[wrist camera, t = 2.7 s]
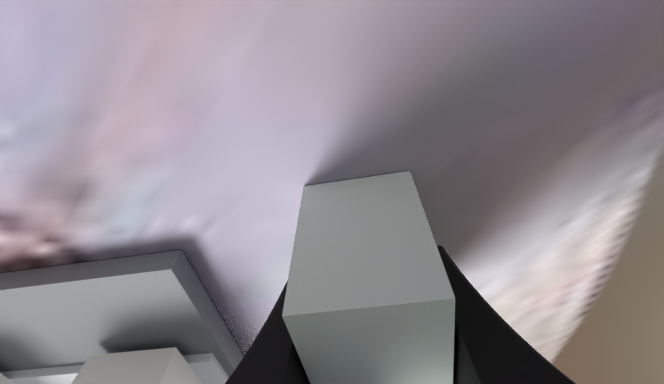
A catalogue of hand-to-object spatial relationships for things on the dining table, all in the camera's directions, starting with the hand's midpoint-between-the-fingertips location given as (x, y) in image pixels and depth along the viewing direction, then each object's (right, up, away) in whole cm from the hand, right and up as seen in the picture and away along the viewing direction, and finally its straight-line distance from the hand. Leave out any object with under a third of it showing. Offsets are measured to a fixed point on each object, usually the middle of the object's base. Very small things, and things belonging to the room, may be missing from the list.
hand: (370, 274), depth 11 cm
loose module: (0, +1, +1) cm, 1 cm away
